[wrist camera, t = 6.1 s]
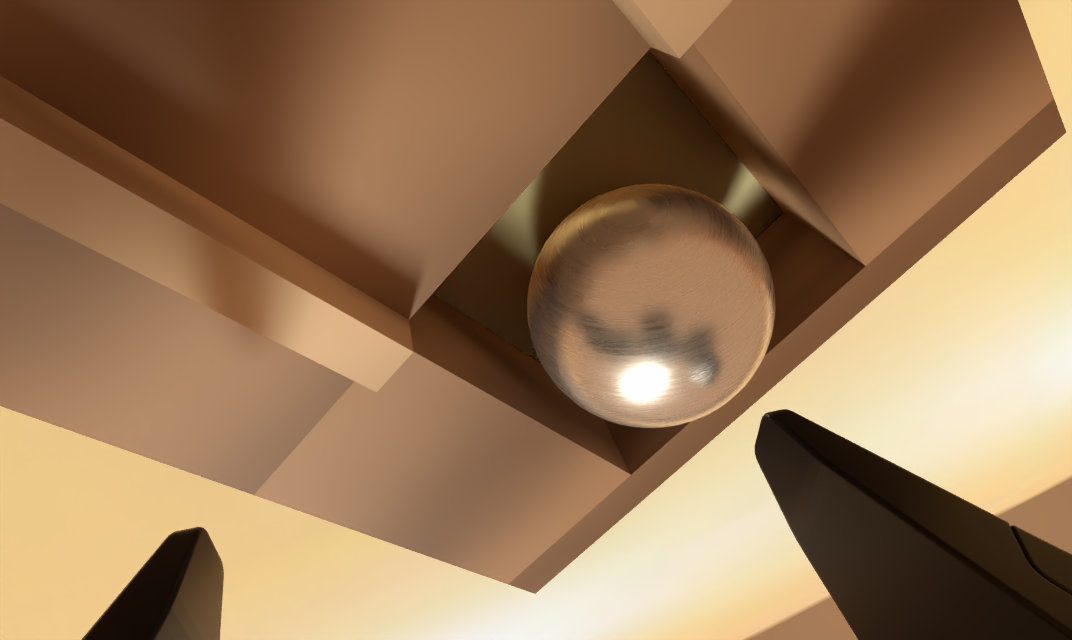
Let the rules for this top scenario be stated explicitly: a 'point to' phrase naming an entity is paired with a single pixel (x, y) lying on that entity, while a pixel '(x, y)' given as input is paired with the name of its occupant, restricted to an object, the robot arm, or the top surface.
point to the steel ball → (651, 306)
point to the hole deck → (440, 228)
